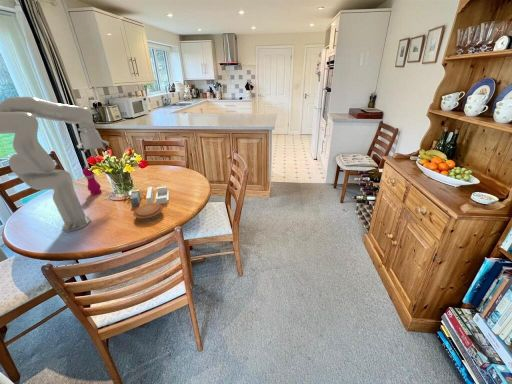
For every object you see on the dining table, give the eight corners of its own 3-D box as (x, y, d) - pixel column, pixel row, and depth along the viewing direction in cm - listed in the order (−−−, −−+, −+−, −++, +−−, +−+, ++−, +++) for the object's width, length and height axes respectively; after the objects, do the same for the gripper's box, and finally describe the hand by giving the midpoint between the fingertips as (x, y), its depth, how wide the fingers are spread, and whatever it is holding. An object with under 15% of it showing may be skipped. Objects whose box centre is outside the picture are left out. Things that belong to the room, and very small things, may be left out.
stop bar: (139, 205, 145) (137, 196, 142) (131, 206, 144) (129, 198, 141) (141, 197, 154) (139, 189, 151) (134, 198, 153) (131, 190, 150)
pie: (169, 213, 136) (168, 205, 134) (145, 226, 125) (143, 218, 123) (153, 206, 144) (151, 198, 142) (129, 218, 132) (126, 210, 130)
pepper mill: (104, 190, 164) (95, 163, 154) (97, 195, 157) (87, 167, 148) (95, 190, 164) (85, 163, 155) (87, 195, 158) (76, 167, 149)
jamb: (168, 202, 147) (167, 195, 144) (148, 206, 144) (146, 198, 141) (168, 191, 161) (167, 184, 159) (150, 193, 158) (148, 187, 156)
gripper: (69, 132, 135) (80, 160, 143) (103, 129, 140) (112, 156, 148) (73, 129, 141) (83, 156, 149) (105, 126, 146) (113, 153, 154)
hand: (97, 156), depth 149 cm, fingers open, 9 cm apart
